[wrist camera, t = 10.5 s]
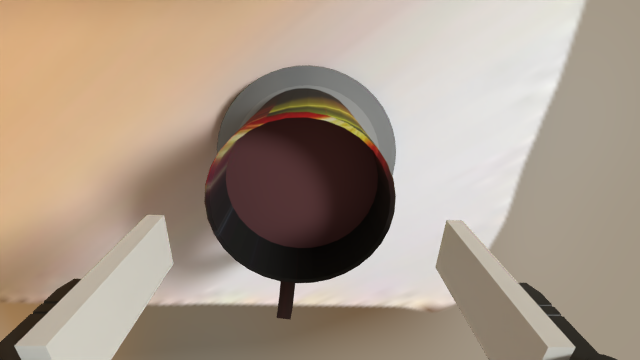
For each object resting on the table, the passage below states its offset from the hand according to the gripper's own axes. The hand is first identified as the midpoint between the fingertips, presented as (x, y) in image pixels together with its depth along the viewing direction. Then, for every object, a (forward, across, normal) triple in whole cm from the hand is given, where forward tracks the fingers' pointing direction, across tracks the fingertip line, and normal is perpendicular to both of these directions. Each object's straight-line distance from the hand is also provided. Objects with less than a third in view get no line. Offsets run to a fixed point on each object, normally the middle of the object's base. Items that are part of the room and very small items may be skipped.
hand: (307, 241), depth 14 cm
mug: (+14, 0, -1) cm, 14 cm away
